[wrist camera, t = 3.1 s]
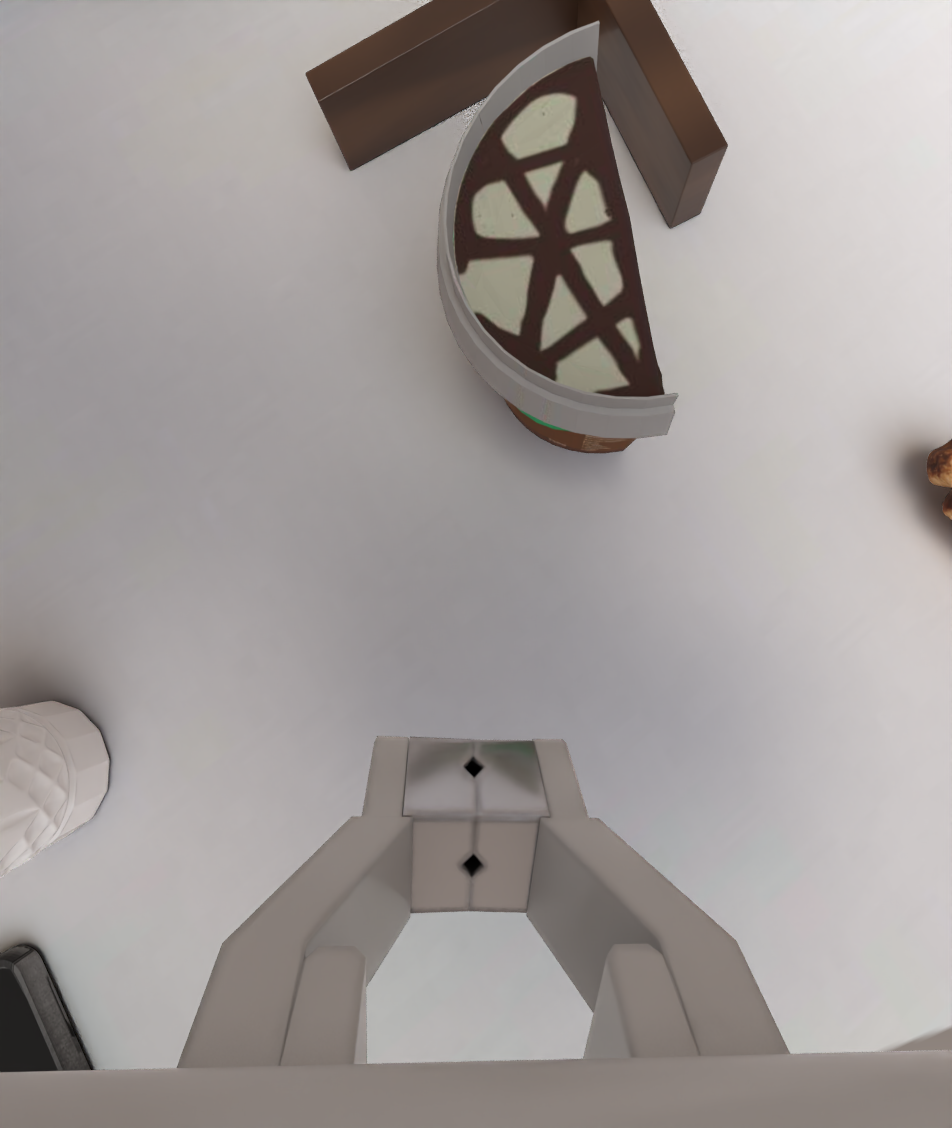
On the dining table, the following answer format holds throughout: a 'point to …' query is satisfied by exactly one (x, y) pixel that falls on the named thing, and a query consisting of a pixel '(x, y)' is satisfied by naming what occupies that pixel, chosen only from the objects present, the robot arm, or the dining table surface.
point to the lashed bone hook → (942, 472)
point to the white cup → (46, 777)
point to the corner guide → (492, 50)
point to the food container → (550, 258)
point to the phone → (33, 1018)
